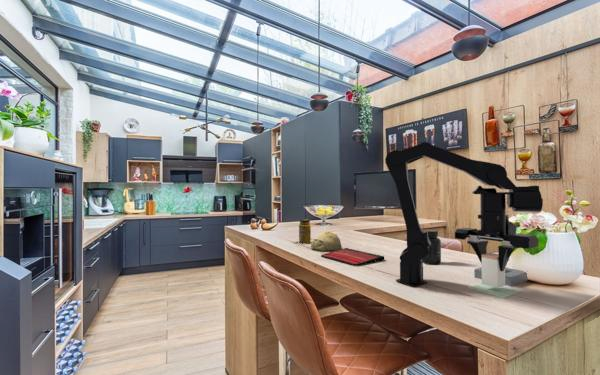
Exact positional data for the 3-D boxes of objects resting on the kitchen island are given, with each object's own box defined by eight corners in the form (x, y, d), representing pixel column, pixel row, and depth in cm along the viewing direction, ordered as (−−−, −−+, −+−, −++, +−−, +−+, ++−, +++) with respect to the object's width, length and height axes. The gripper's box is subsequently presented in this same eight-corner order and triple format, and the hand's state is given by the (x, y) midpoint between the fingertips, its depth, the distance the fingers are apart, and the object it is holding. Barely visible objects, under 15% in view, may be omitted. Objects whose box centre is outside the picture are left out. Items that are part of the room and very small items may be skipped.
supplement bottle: (443, 265, 110) (442, 232, 110) (423, 264, 111) (422, 231, 111) (438, 260, 117) (438, 229, 117) (419, 260, 118) (419, 229, 118)
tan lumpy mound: (342, 247, 146) (342, 230, 146) (340, 252, 134) (340, 234, 134) (313, 246, 149) (313, 230, 149) (308, 251, 137) (308, 233, 137)
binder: (346, 247, 136) (384, 255, 119) (346, 252, 136) (384, 261, 119) (318, 253, 126) (355, 263, 109) (318, 259, 127) (355, 270, 109)
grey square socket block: (510, 287, 85) (510, 277, 85) (474, 279, 93) (474, 269, 93) (527, 281, 90) (527, 271, 90) (491, 274, 99) (491, 264, 99)
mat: (503, 300, 76) (503, 297, 76) (467, 289, 84) (467, 287, 84) (520, 293, 81) (520, 290, 81) (485, 284, 88) (485, 282, 88)
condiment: (314, 242, 159) (313, 219, 159) (302, 244, 153) (302, 220, 153) (304, 240, 164) (304, 218, 164) (292, 243, 158) (292, 219, 159)
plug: (497, 287, 79) (497, 257, 79) (481, 283, 83) (481, 254, 83) (505, 285, 81) (505, 255, 81) (489, 281, 85) (489, 252, 85)
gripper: (547, 212, 78) (548, 272, 78) (474, 208, 94) (475, 258, 94) (527, 214, 73) (528, 279, 72) (453, 209, 89) (453, 263, 88)
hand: (493, 269), depth 82 cm, fingers closed on plug, 4 cm apart
